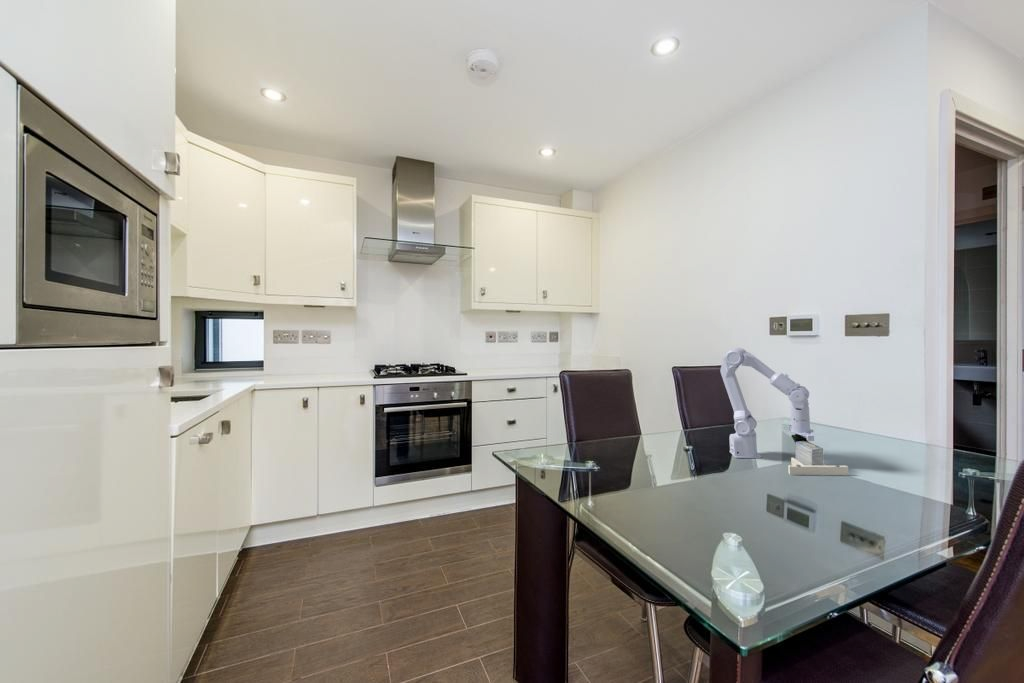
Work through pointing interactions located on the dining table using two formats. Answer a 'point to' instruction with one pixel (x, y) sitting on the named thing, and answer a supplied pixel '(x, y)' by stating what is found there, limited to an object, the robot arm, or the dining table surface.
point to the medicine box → (809, 453)
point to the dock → (815, 469)
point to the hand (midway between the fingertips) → (801, 453)
